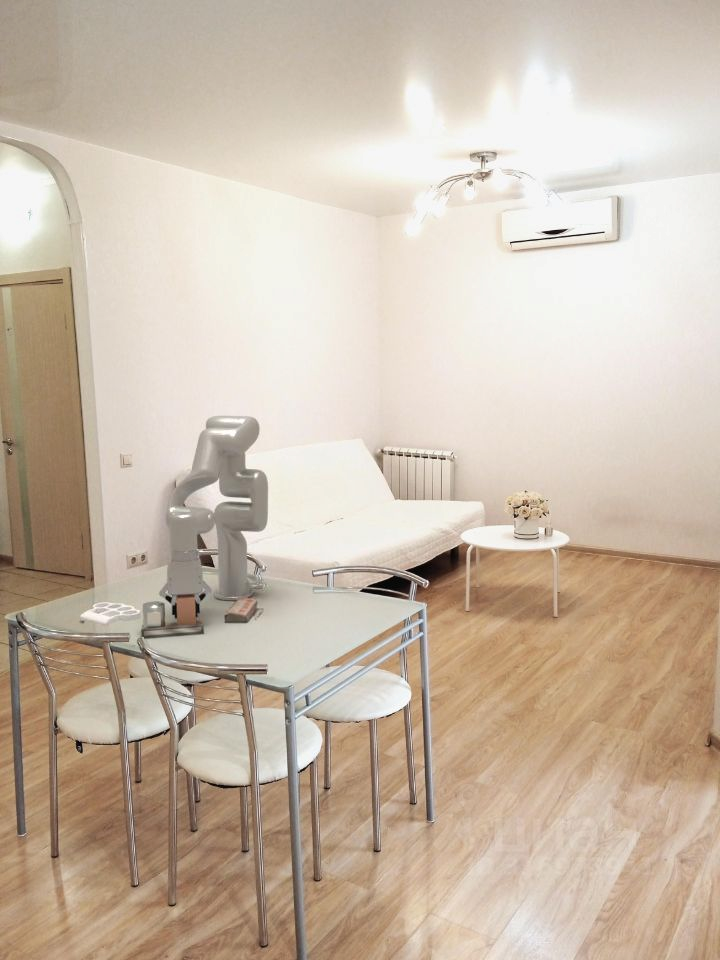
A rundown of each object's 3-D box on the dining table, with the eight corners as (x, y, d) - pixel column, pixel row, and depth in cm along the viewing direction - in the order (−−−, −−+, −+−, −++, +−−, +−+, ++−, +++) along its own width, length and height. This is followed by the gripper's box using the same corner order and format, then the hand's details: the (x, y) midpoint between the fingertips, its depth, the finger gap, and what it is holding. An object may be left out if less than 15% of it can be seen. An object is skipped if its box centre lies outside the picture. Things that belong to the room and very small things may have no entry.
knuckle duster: (73, 621, 243) (111, 609, 255) (113, 632, 233) (151, 619, 246) (72, 610, 243) (111, 598, 255) (112, 621, 233) (151, 608, 245)
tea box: (196, 629, 232) (195, 598, 230) (177, 630, 230) (176, 600, 229) (194, 621, 238) (193, 591, 237) (177, 622, 237) (176, 593, 236)
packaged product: (232, 596, 253) (263, 597, 252) (232, 610, 254) (263, 612, 253) (215, 613, 236) (249, 614, 235) (216, 629, 236) (249, 630, 235)
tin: (165, 627, 233) (164, 600, 232) (165, 634, 227) (164, 607, 226) (143, 629, 231) (142, 602, 230) (143, 636, 226) (142, 608, 224)
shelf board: (201, 624, 239) (201, 612, 239) (204, 637, 228) (203, 625, 227) (142, 628, 235) (141, 616, 235) (141, 642, 224) (141, 630, 223)
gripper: (213, 550, 237) (214, 610, 240) (153, 553, 233) (155, 614, 235) (215, 556, 230) (216, 618, 232) (153, 560, 226) (155, 622, 228)
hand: (186, 615), depth 234 cm, fingers closed on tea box, 5 cm apart
